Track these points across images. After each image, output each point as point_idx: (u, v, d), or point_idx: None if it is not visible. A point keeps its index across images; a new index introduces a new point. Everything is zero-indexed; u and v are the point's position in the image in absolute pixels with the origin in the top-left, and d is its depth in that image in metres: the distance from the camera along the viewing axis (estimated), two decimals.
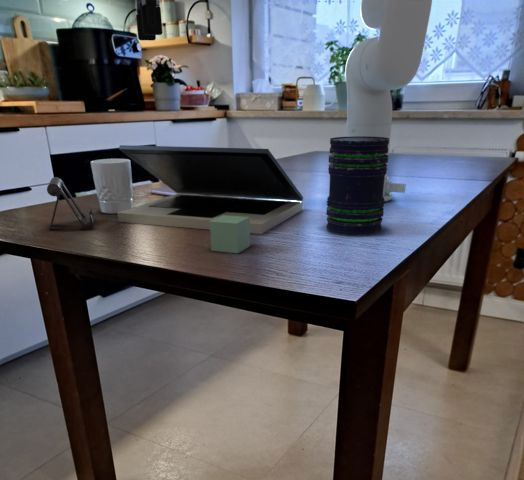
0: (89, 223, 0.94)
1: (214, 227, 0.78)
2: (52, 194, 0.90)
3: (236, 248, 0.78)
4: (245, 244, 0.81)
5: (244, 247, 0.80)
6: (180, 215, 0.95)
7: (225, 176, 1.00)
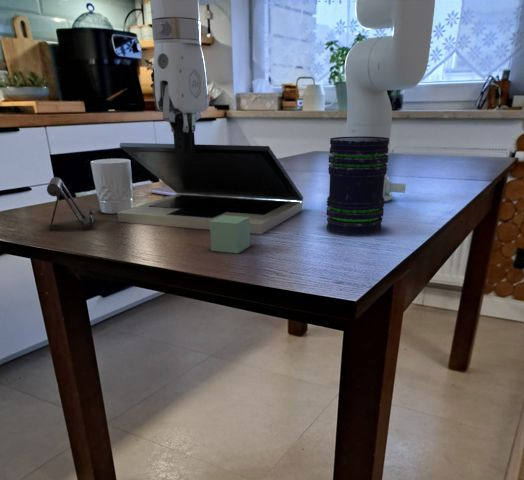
0: (89, 223, 0.94)
1: (214, 227, 0.78)
2: (52, 194, 0.90)
3: (236, 248, 0.78)
4: (245, 244, 0.81)
5: (244, 247, 0.80)
6: (180, 215, 0.95)
7: (225, 175, 1.00)
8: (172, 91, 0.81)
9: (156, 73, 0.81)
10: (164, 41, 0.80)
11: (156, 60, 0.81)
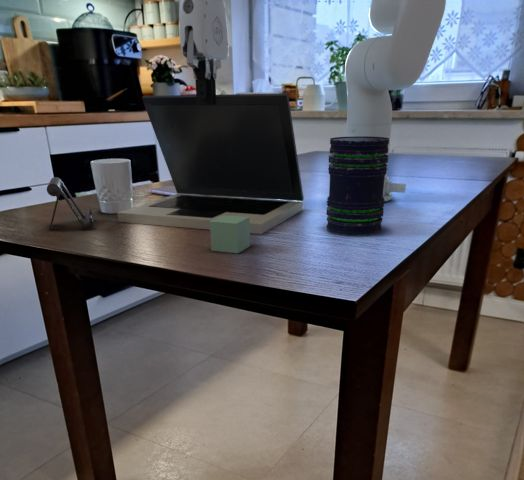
0: (89, 223, 0.94)
1: (214, 227, 0.78)
2: (52, 194, 0.90)
3: (236, 248, 0.78)
4: (245, 244, 0.81)
5: (244, 247, 0.80)
6: (180, 215, 0.95)
7: (235, 149, 1.02)
8: (196, 36, 0.85)
9: (181, 18, 0.85)
10: None
11: (181, 5, 0.84)
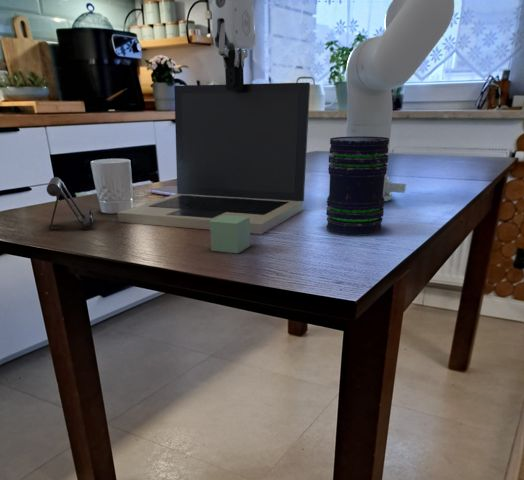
0: (89, 223, 0.94)
1: (214, 227, 0.78)
2: (52, 194, 0.90)
3: (236, 248, 0.78)
4: (245, 244, 0.81)
5: (244, 247, 0.80)
6: (180, 215, 0.95)
7: (248, 140, 1.07)
8: (228, 27, 0.94)
9: (214, 12, 0.94)
10: None
11: (214, 0, 0.93)
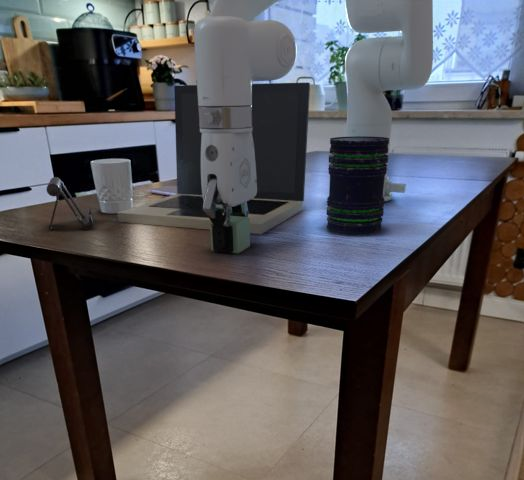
0: (89, 223, 0.94)
1: None
2: (52, 194, 0.90)
3: (236, 248, 0.78)
4: (245, 244, 0.81)
5: (244, 247, 0.80)
6: (180, 215, 0.95)
7: None
8: (221, 186, 0.72)
9: (203, 165, 0.72)
10: (213, 131, 0.71)
11: (204, 151, 0.71)
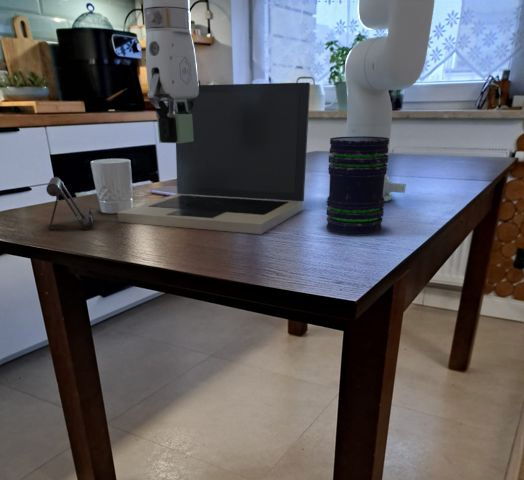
0: (88, 223, 0.94)
1: None
2: (51, 194, 0.90)
3: (179, 138, 0.92)
4: (188, 137, 0.94)
5: (187, 140, 0.94)
6: (180, 215, 0.95)
7: (248, 140, 1.07)
8: (163, 77, 0.85)
9: (148, 60, 0.85)
10: (156, 29, 0.84)
11: (148, 48, 0.85)
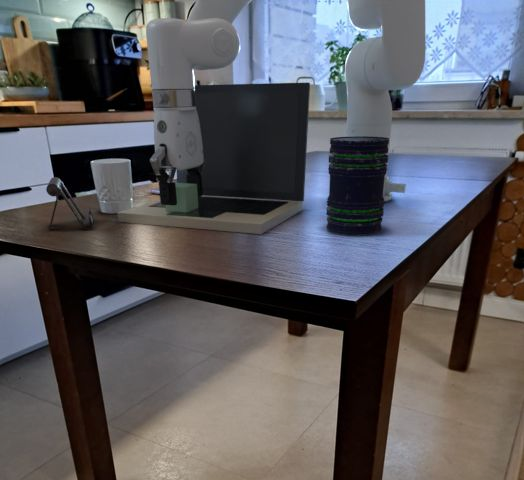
0: (88, 223, 0.94)
1: None
2: (51, 194, 0.90)
3: (185, 208, 0.97)
4: (193, 206, 0.99)
5: (192, 208, 0.99)
6: (180, 215, 0.95)
7: (248, 140, 1.07)
8: (170, 153, 0.90)
9: (156, 137, 0.91)
10: (163, 109, 0.89)
11: (156, 125, 0.90)
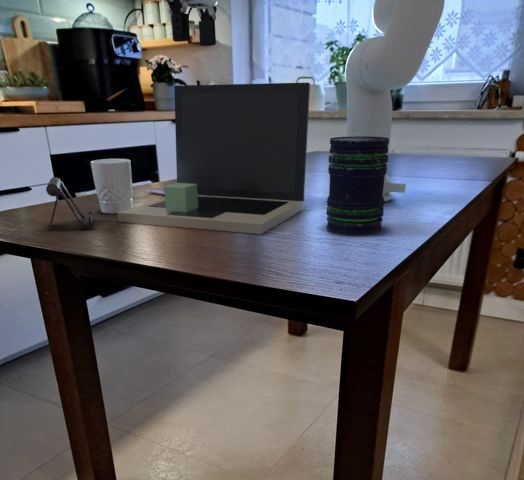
0: (88, 223, 0.94)
1: (167, 191, 0.97)
2: (51, 194, 0.90)
3: (185, 208, 0.97)
4: (193, 206, 0.99)
5: (192, 208, 0.99)
6: (180, 215, 0.95)
7: (248, 140, 1.07)
8: None
9: None
10: None
11: None
